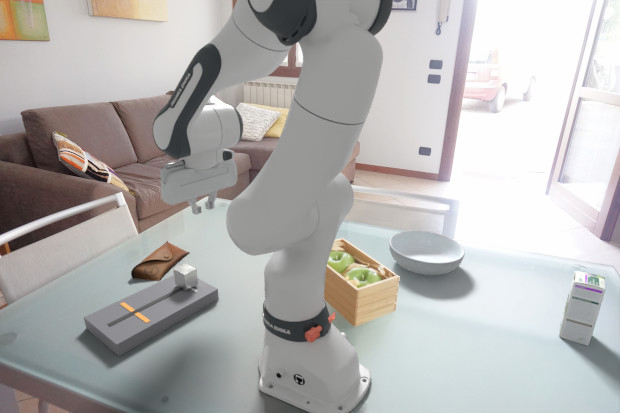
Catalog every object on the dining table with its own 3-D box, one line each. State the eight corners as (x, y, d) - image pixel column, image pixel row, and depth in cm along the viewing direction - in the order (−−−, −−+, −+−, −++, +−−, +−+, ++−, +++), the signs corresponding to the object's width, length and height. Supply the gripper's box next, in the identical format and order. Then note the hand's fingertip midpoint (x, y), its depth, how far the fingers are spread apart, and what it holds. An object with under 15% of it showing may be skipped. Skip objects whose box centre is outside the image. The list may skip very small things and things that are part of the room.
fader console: (218, 299, 102) (217, 288, 101) (119, 356, 83) (116, 344, 82) (184, 280, 110) (183, 270, 109) (86, 328, 91) (83, 316, 90)
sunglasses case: (159, 282, 109) (145, 261, 108) (141, 290, 112) (126, 271, 110) (191, 251, 126) (179, 233, 124) (174, 259, 128) (162, 242, 127)
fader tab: (198, 284, 102) (196, 268, 101) (186, 290, 100) (184, 274, 98) (187, 278, 105) (185, 263, 103) (175, 284, 102) (173, 268, 100)
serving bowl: (461, 291, 107) (465, 268, 105) (382, 276, 114) (384, 255, 111) (461, 255, 126) (464, 235, 123) (392, 245, 132) (394, 225, 129)
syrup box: (589, 347, 88) (608, 289, 83) (557, 337, 91) (574, 280, 86) (589, 332, 92) (606, 277, 87) (559, 323, 95) (574, 269, 90)
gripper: (167, 168, 86) (174, 227, 91) (240, 150, 101) (242, 202, 106) (151, 162, 90) (158, 220, 95) (223, 146, 105) (226, 197, 110)
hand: (203, 211), depth 101 cm, fingers open, 3 cm apart
